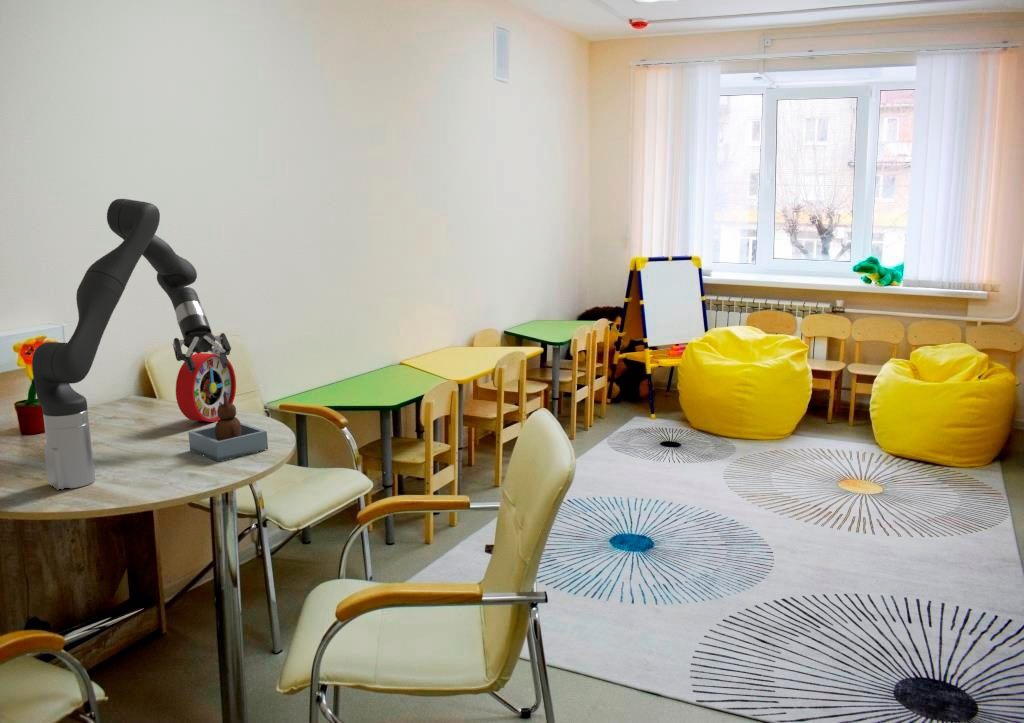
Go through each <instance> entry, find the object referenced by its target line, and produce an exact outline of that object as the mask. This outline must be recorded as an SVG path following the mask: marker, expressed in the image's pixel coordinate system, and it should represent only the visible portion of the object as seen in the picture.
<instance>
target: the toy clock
mask: <svg viewBox="0 0 1024 723" xmlns="http://www.w3.org/2000/svg"><path fill="white" fill-rule="evenodd" d="M191 357H192V360H193V363H194V366H195V371H194V372H192V373H191V371H189V370H188V369H187V366H186V363H185V361H183V363H182V364H181V366H180V368H179V371H178V373H177V376H176V381H175V397H176V398H175V399H176V402H177V405H178V408H179V410H180V412H181V414H182V415H183V416H184V417H185V418H187V419H189V420H190V421H196V422H208V423H209V422H211V423H215V421H216V422H218V420H220V418H219V417H218V414H217V410H218V407H219V406H220V405H222V404H224V392H226V395H227V399H228V404H233V405H234V401H235V397H236V391H237V378H236V373H235V369H234V368H233V365H232V363H231V361H230V360H229V359H228V365H227V367H226V368H223V367H222V364H221V362H220V359H219V358H220V357H219V356H217V355H216V354H212V353H208V352H201V353H196V352H195V353H193V355H192V356H191Z"/></svg>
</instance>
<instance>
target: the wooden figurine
mask: <svg viewBox="0 0 1024 723" xmlns="http://www.w3.org/2000/svg"><path fill="white" fill-rule="evenodd" d="M217 414H218V417H219V418H220V420H219V421H216V423H215V436H216V439H217V441H221V440H225V439H230V438H234V437H239V436H241V424H240V423H241V422H240V419H239V418H237V417H236V415H237V409H236V406H235V404H234V403H233V404H228V399H227V395H226V392H224V404H222V405H220V406H219V407H218V410H217Z"/></svg>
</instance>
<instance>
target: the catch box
mask: <svg viewBox="0 0 1024 723" xmlns="http://www.w3.org/2000/svg"><path fill="white" fill-rule="evenodd" d="M240 424H241V436H239V437H234V438H230V439H225V440H221V441H217V439H216V436H215V426H216V425H215V426H210V427H206V428H201V429H197V430H192V431H188V433H187V434H188V441H189V442H188V443H189V451H190V450H191V452H193V451H194V452H193V453H195V452H196V453H195V454H198V455H200V454H201V456H203V455H204V456H203V457H205V456H206V458H208V457H209V458H208V459H210V458H211V460H213V461H215V460H216V462H219V461H220V462H223V461H222V460H224V461H227V460H226V459H228V460H231V459H230V458H232V459H235V458H234V457H236V458H238V457H237V456H240V457H242V456H241V455H244V456H246V455H245V454H248V455H251V454H250V453H252V454H255V453H254V452H257V451H261V452H263V451H262V450H265V449H268V450H269V446H268V445H269V444H268V442H269V441H268V431H267V430H264V429H262V428H258V427H255V426H252V425H249V424H246V423H242V422H240ZM265 451H266V450H265ZM257 453H258V452H257Z"/></svg>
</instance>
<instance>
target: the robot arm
mask: <svg viewBox="0 0 1024 723" xmlns="http://www.w3.org/2000/svg"><path fill="white" fill-rule="evenodd" d="M160 217H161V215H160V209H159V208H158V206H156V205H155V204H153V203H152V202H146V201H142V200H135V199H134V200H133V199H129V198H117V199H115V200H112V202H110V204H109V206H108V208H107V212H106V222H107V225H108V226H109V229H110V230H111V231H112V232H113V233H114V234H115V235H117V236H118V237H119V238H121V239H122V240H123V241H122V242H120V244H119V245H118V246H117V247H115V248H114V249H112V250H111V251H109V252H108V253H106V254H105V255H103V256H102V257H100V258H99V259H97V260H96V261H94V262H93V263H92V264H91V265H90V266H89V267H88V269H87V270H86V271H85V273H84V274H83V277H82V280H81V281H80V283H79V285H78V287H77V290H76V296H75V297H76V307H77V312H78V314H77V315H78V321H77V325H76V327H75V329H74V332H73V333H72V335H71V337H70V338H69V340H68V341H67V342H57V341H56V342H55V341H52V342H51V341H50V342H49V341H48V342H47V341H46V342H43V343H41V344H39V345H38V346H37V347H36V348H35V350H34V353H33V355H32V360H31V369H32V377H33V382H34V388H35V393H36V398H37V402H38V403H39V405H40V407H41V409H42V414H43V415H42V416H43V417H42V418H43V422H44V423H43V425H44V432H45V433H44V434H45V445H43V450H44V451H43V452H44V459H45V460H44V461H45V467H46V468H45V470H46V477H47V485H48V484H49V486H50V485H51V486H50V487H52V486H53V487H54V489H55V488H56V489H55V490H57V491H59V489H61V490H65V489H64V488H70V489H76V488H81V487H85V486H88V485H90V484H92V483H94V482H95V481H96V475H95V473H96V471H95V465H94V464H95V463H94V456H93V447H92V439H91V437H92V436H91V429H90V419H89V418H90V417H89V410H88V401H87V399H86V397H85V396H84V395H82V394H81V393H78V392H77V391H76V390H74V388H72V386H71V384H77V383H79V382H81V381H83V380H85V378H86V377H87V376H88V374H89V372H90V370H91V368H92V366H93V363H94V361H95V358H96V355H97V352H98V349H99V347H100V343H101V340H102V338H103V335H104V332H105V331H106V328H107V326H108V324H109V321H110V319H111V318H112V315H113V313H114V310H115V309H116V307H117V305H118V303H119V301H120V299H121V298H122V295H123V293H124V291H125V289H126V288H127V287H126V286H127V284H128V282H129V279H130V278H131V277H132V274H133V271H134V270H135V268H136V266H137V264H138V262H139V260H140V259H141V258H142V256H143V258H145V260H146V261H147V262H148V263H149V264H150V265H151V267H152V269H153V270H155V271H156V273H157V274H156V281H157V283H158V285H159V286H160V288H161V289H162V290H163V291H164V292H165V293H166V295H167V297H169V299H170V301H171V303H172V306H173V309H174V312H175V317H176V321H177V325H178V326H179V327H178V328H179V329H180V332H181V335H182V338H183V339H179V337H175V338H173V343H172V347H173V350H174V355H175V359H176V361H177V362H181V361H183V362H185V363H186V366H187V369H188V370H189V371H191V373H192V372H194V371H195V366H194V363H193V360H192V357H191V356H192V355H194V354H196V353H210V354H216V355H217V356H219V357H220V358H219V359H220V362H221V364H222V367H223V368H226V367H227V365H228V360H229V359H228V356H229V355H230V353H231V350H232V347H231V345H230V342H229V340H228V338H227V336H226V334H225V333H224V332H221V333H220V335H214V334H213V332H212V329H211V326H210V323H209V321H208V318H207V315H206V313H205V310H204V308H203V306H202V304H201V301H200V299H199V296H198V293H197V291H196V290H195V289H194V288H192V287H190V285H192V284H194V283H195V282H196V280H197V278H198V274H197V273H198V272H197V270H196V268H195V267H194V265H193V264H192V263H191V262H190V261H188V260H187V259H186V258H184V257H182V256H180V255H178V254H176V252H175V250H174V249H173V248H172V247H171V246H170V244H169V243H168V242H166V241H165V240H164V239H162V238H161V237H159V236H157V235H156V232H157V231H158V228H159V225H160V220H161V218H160ZM183 345H184V346H185V347H186V348H187V351H186V352H185V353H183V350H182V347H183ZM220 345H221V346H220ZM53 487H52V488H53Z"/></svg>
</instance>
